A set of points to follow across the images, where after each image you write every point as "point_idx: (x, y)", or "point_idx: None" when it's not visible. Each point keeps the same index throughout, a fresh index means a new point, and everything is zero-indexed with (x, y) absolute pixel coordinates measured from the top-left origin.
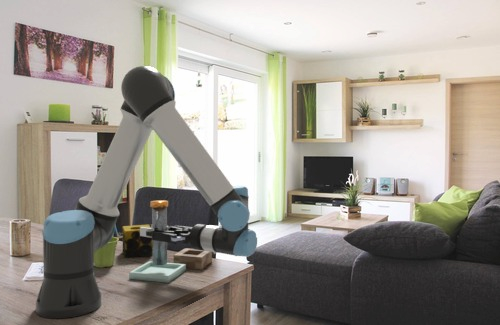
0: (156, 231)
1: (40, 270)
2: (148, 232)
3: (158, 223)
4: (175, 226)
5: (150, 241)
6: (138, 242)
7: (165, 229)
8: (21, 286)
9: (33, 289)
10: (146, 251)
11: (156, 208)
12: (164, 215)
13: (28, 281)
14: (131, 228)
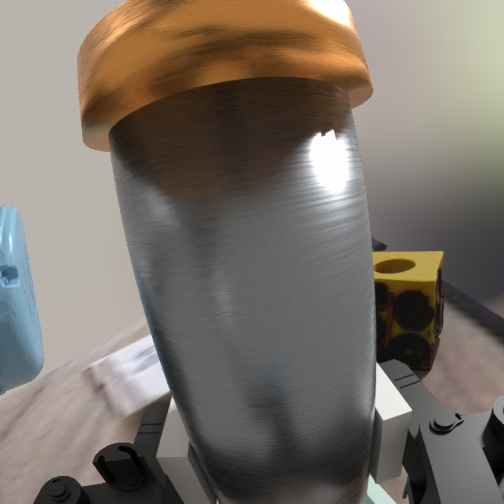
0: (107, 500)
1: (149, 346)
2: (142, 434)
3: (176, 405)
4: (498, 423)
5: (428, 323)
6: (386, 322)
7: (304, 493)
8: (54, 384)
9: (39, 405)
10: (412, 354)
11: (112, 156)
12: (243, 295)
13: (82, 374)
14: (383, 263)
